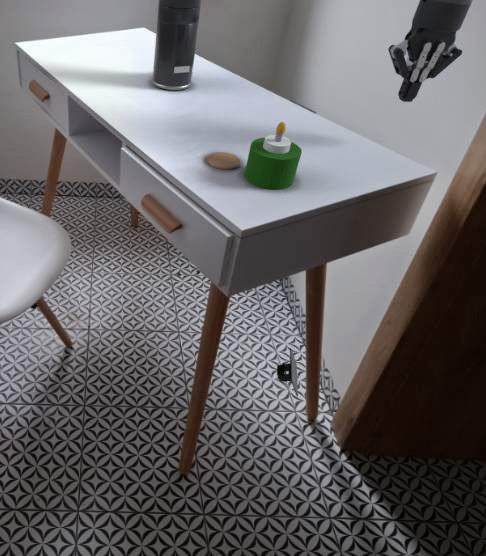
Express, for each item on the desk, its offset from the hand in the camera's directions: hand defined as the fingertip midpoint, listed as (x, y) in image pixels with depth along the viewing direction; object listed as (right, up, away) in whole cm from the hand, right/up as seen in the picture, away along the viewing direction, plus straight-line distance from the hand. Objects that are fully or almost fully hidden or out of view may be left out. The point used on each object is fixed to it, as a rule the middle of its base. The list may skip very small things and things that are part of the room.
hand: (404, 100), depth 95 cm
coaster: (-34, -12, -2) cm, 36 cm away
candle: (-27, -16, -6) cm, 32 cm away
